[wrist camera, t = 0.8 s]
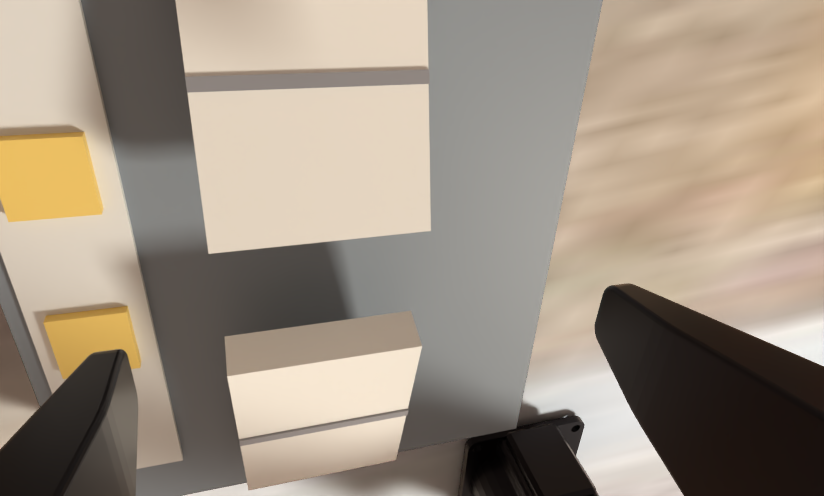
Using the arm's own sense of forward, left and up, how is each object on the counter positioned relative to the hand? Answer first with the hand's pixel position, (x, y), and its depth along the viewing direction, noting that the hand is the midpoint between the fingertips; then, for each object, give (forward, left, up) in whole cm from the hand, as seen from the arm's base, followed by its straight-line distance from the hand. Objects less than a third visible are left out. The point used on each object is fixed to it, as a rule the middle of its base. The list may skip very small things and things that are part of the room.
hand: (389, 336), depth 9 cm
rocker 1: (+2, 0, -6) cm, 7 cm away
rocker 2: (-8, 0, -6) cm, 10 cm away
